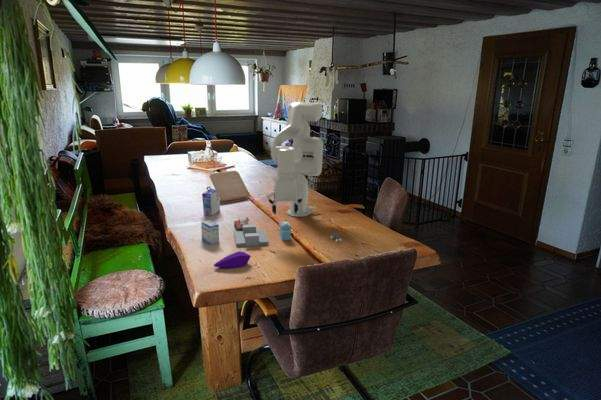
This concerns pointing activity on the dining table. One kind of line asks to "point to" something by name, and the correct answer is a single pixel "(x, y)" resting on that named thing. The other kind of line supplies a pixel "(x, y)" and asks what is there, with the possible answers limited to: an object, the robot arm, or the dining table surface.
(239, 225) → the walkie-talkie
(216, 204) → the ink cartridge box
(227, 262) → the purple tapered spindle
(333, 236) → the car cutout
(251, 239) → the block
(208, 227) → the medicine box
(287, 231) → the block
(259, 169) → the dining table surface
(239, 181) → the case
